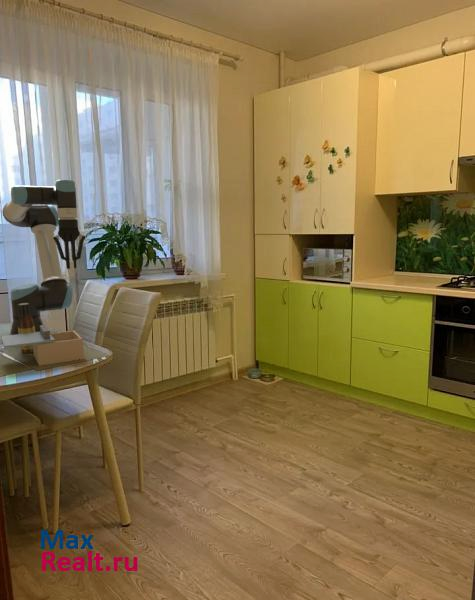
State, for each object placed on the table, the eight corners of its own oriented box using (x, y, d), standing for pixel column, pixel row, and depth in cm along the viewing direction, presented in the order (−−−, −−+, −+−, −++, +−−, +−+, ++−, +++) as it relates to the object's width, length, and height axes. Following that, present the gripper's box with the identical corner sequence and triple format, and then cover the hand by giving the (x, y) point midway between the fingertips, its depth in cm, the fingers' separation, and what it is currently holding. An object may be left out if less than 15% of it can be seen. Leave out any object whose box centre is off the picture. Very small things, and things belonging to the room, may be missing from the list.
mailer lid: (1, 338, 180) (0, 328, 179) (48, 332, 188) (47, 323, 187) (4, 348, 165) (3, 337, 165) (54, 341, 173) (54, 331, 173)
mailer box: (33, 355, 186) (32, 335, 185) (75, 349, 194) (74, 330, 192) (39, 365, 172) (37, 344, 171) (84, 358, 180) (82, 338, 179)
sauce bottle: (31, 348, 196) (26, 301, 192) (40, 350, 193) (36, 302, 189) (16, 352, 190) (12, 304, 187) (26, 354, 187) (22, 305, 184)
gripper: (52, 219, 185) (57, 278, 189) (86, 218, 192) (90, 276, 196) (49, 219, 192) (54, 276, 196) (82, 218, 198) (86, 274, 202)
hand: (72, 276), depth 196 cm, fingers closed
